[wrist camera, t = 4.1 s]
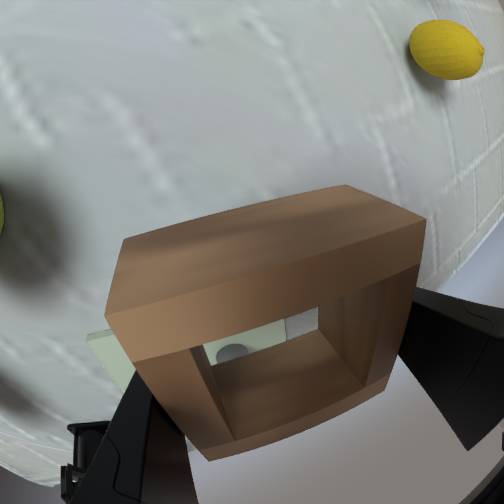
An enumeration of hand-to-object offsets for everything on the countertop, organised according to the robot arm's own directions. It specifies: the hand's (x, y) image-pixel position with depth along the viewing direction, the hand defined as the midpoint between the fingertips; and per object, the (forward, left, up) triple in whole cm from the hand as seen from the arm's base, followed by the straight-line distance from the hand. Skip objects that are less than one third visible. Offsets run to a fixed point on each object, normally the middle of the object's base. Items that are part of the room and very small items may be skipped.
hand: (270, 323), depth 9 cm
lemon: (+20, +12, -11) cm, 26 cm away
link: (0, 0, -1) cm, 1 cm away
